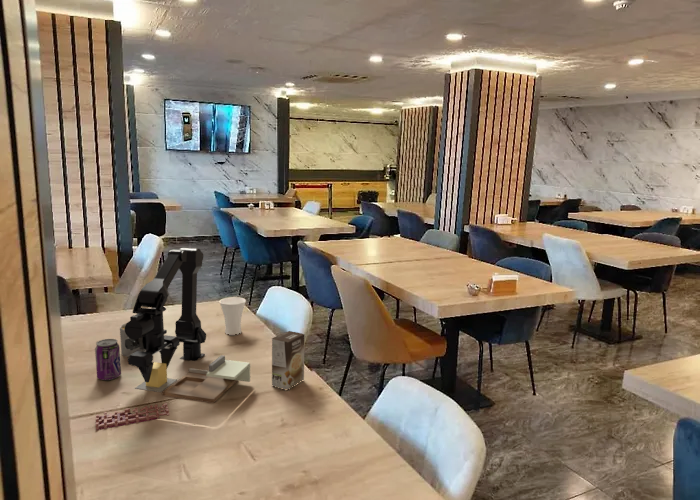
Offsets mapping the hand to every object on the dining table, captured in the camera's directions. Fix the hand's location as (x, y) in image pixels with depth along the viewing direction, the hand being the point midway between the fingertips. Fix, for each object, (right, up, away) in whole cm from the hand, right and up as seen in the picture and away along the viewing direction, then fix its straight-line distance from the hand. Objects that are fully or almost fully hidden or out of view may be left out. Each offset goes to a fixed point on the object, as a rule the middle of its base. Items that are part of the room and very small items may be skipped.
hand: (156, 375), depth 162 cm
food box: (+41, -4, +4) cm, 41 cm away
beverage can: (-17, -2, +6) cm, 18 cm away
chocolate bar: (+1, -8, -18) cm, 20 cm away
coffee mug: (-16, +2, +26) cm, 31 cm away
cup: (+13, +6, +49) cm, 51 cm away
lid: (+24, -3, -3) cm, 24 cm away
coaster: (0, -3, +1) cm, 3 cm away
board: (+14, -4, -1) cm, 15 cm away
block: (0, -3, +1) cm, 3 cm away
